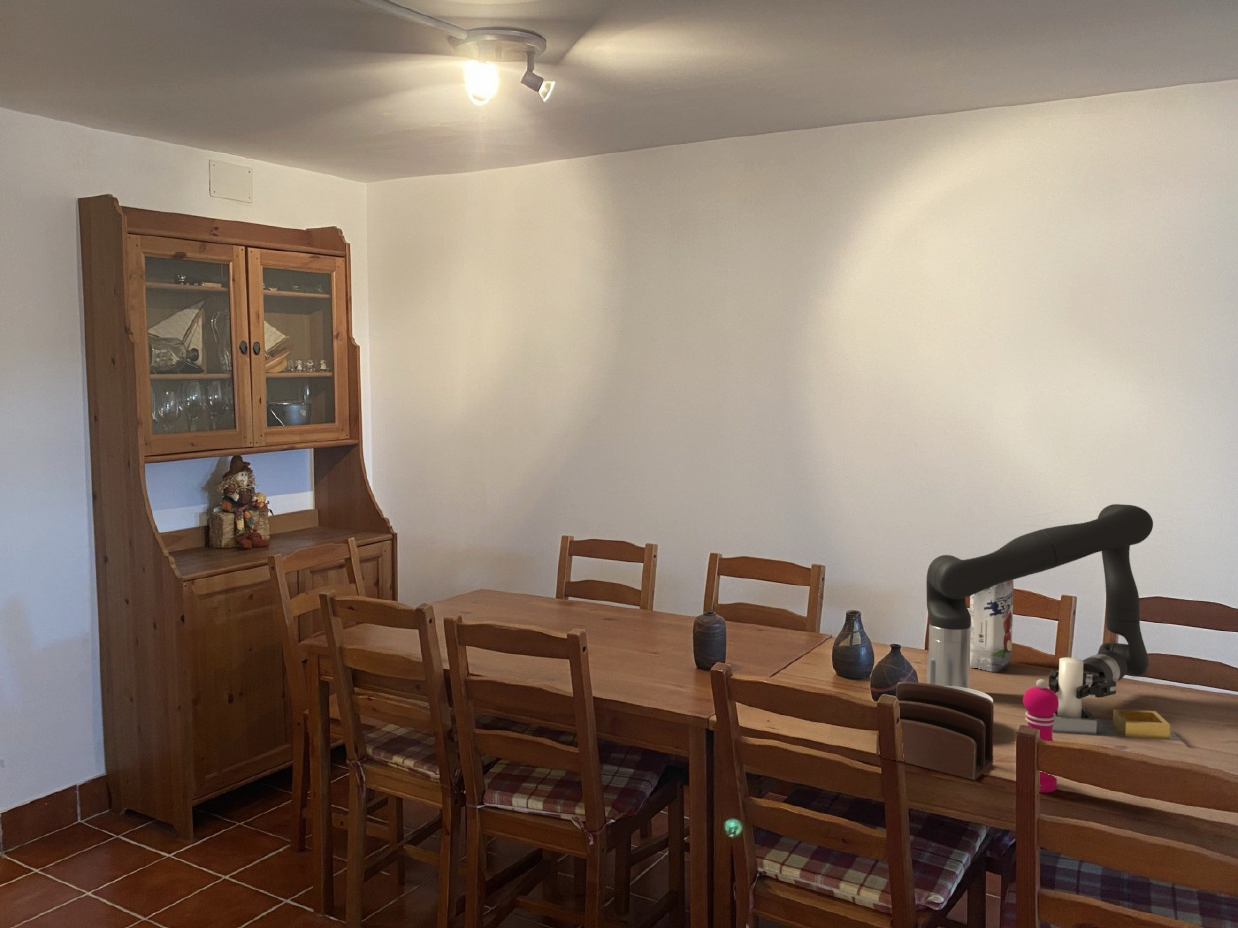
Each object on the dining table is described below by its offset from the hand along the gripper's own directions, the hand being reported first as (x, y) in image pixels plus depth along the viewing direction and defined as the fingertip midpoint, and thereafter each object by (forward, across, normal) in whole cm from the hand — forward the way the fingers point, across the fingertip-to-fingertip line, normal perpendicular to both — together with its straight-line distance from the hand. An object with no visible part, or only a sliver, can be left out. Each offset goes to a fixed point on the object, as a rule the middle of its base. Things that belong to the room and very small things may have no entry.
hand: (1065, 691), depth 205 cm
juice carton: (-36, -33, +10) cm, 50 cm away
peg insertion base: (-7, +6, +9) cm, 13 cm away
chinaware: (+15, -17, +10) cm, 25 cm away
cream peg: (-3, 0, +8) cm, 8 cm away
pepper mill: (+30, +7, +9) cm, 32 cm away
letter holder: (+33, -12, +10) cm, 36 cm away
